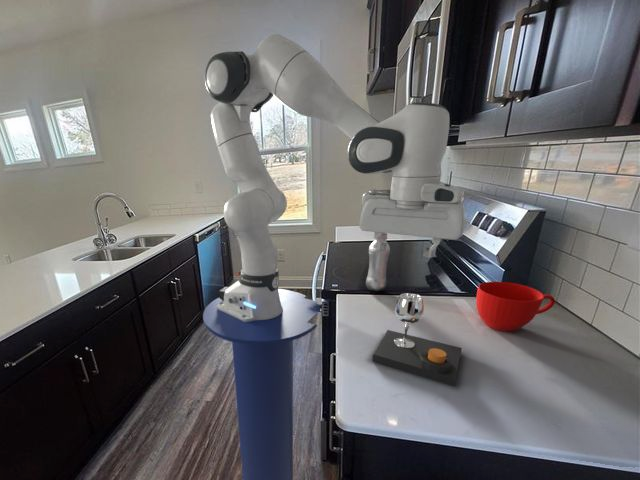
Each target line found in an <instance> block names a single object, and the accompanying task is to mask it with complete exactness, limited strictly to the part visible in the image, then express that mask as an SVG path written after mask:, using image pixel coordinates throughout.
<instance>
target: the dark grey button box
mask: <svg viewBox="0 0 640 480" xmlns="http://www.w3.org/2000/svg"><path fill="white" fill-rule="evenodd" d="M404 334H405V333H403V332H399V331H394V330H391V329H387V330H386V332H385V333H384V335H383V337H382V338H381V340H380V342H379V343H378V344H377V346H376V348H375V349H374V351H373V353H372V358H371V361H372V362H375V363H377V364H380V365H384V366H387V367H391V368H393V369H398V370H400V371H404V372H408V373H410V374H412V375H417V376H420V377H423V378H427V379H430V380H433V381H437V382H438V383H439V382H440V383H442V384H446V385H449V386H452V387H455V385H456V381H457V376H458V370H459V365H460V359H461V354H462V350H463V348H462V347H460V346H457V345H456V346H455V345H451V344H447V343H443V342H440V341H435V340H431V339H428V338H422V337H420V336H419V337H418V336H415V335H411V334H407V335H406V338H407V339H410V340H412V341H413V342H414V343H415V346H414V347H412V348H403V347H400V346H398V345H396V344H395V343H394V340H395V339H396V338H404ZM432 348H436V349H440V350H443V351H444V352H445V353H446V354H447V355H446V360H445V363H443V364H441V363H435V362H432V361H430V360H428V352H429V350H430V349H432Z"/></svg>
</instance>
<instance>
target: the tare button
mask: <svg viewBox="0 0 640 480" xmlns="http://www.w3.org/2000/svg"><path fill="white" fill-rule="evenodd" d="M446 355H447V354H446V353H445V352H444V351H443V350H440V349H436V348H432V349H430V350H429V352H428V360H430V361H432V362H435V363H441V364H443V363H445V360H446Z"/></svg>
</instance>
